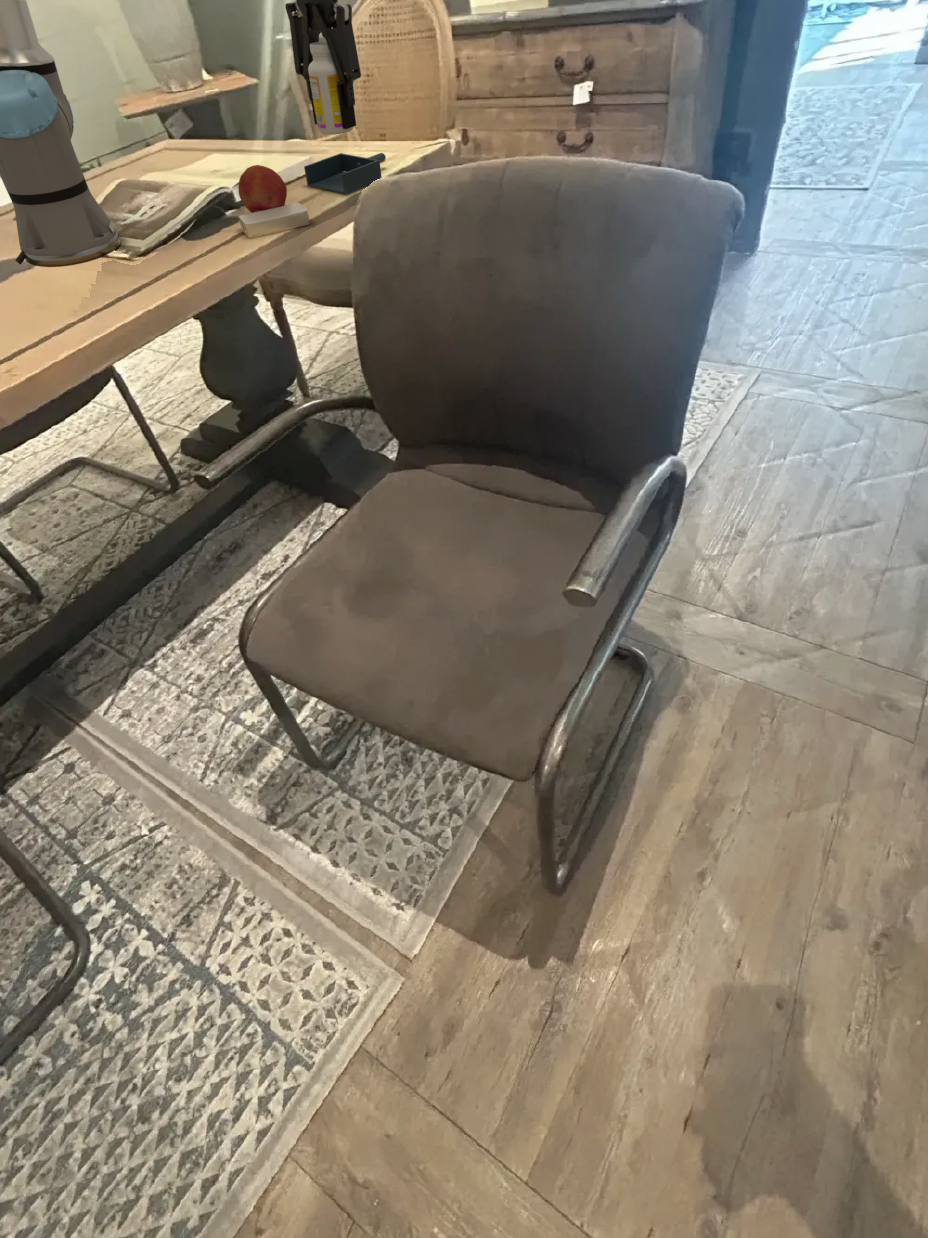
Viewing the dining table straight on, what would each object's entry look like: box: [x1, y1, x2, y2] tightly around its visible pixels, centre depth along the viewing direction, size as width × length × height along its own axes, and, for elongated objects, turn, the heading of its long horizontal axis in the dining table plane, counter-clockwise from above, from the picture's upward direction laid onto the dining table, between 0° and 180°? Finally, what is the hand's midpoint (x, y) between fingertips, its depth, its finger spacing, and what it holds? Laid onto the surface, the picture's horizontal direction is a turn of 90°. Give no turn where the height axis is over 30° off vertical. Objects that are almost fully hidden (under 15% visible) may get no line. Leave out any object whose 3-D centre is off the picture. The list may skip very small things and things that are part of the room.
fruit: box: [238, 164, 288, 213], centre depth 124 cm, size 8×8×10 cm
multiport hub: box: [238, 202, 311, 239], centre depth 122 cm, size 4×11×2 cm, turn 118°
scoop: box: [303, 152, 387, 196], centre depth 139 cm, size 17×10×3 cm, turn 142°
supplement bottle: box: [308, 40, 354, 135], centre depth 128 cm, size 7×7×13 cm
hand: (335, 124), depth 132 cm, fingers closed on supplement bottle, 7 cm apart
